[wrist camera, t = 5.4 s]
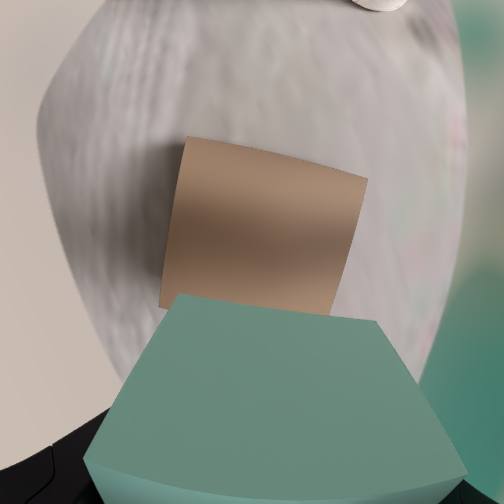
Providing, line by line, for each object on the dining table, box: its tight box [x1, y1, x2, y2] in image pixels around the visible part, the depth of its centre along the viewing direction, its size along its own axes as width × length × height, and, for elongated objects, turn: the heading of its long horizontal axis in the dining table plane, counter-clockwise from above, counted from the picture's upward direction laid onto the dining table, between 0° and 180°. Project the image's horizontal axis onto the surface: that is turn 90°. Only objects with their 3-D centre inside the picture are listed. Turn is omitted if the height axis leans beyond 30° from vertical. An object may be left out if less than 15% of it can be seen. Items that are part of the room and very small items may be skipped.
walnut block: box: [159, 136, 368, 316], centre depth 17 cm, size 9×9×4 cm
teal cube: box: [83, 293, 468, 504], centre depth 6 cm, size 5×5×5 cm
